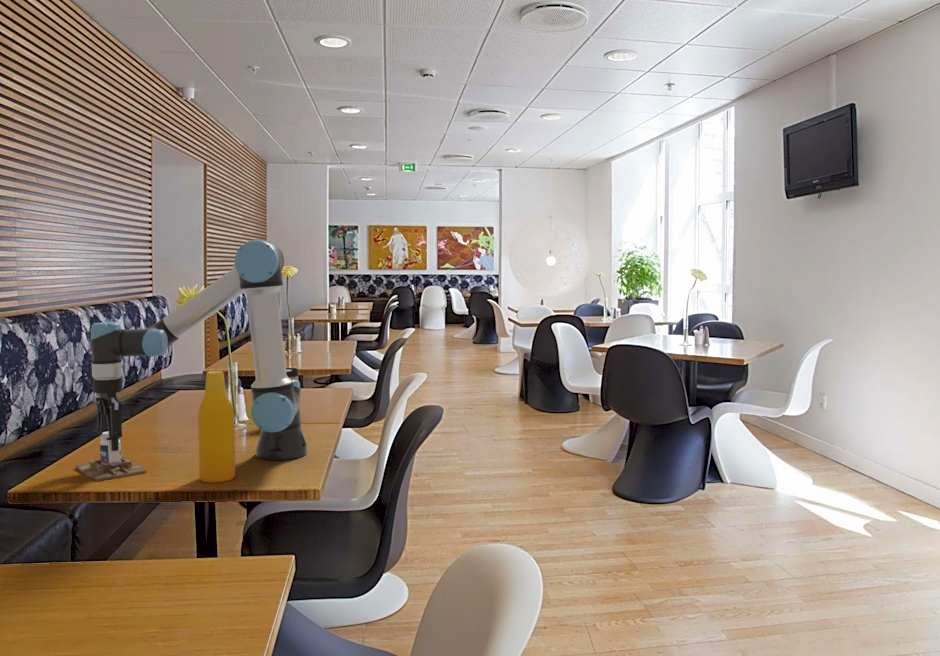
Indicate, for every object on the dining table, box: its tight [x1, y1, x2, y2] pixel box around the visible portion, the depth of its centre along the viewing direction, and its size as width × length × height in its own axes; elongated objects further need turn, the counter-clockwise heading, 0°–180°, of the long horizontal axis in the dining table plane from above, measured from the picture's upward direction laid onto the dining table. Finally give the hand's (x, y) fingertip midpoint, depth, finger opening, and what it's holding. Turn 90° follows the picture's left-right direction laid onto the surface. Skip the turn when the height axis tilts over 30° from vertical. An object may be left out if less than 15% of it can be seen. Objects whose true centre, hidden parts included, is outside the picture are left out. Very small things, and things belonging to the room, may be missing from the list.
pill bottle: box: [99, 431, 122, 465], centre depth 212 cm, size 5×5×9 cm
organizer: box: [75, 455, 147, 482], centre depth 213 cm, size 18×13×3 cm
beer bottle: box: [197, 370, 236, 484], centre depth 204 cm, size 9×9×29 cm
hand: (110, 459), depth 213 cm, fingers open, 5 cm apart
